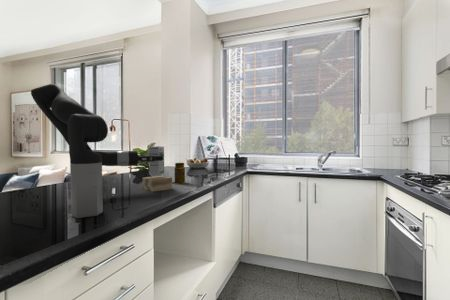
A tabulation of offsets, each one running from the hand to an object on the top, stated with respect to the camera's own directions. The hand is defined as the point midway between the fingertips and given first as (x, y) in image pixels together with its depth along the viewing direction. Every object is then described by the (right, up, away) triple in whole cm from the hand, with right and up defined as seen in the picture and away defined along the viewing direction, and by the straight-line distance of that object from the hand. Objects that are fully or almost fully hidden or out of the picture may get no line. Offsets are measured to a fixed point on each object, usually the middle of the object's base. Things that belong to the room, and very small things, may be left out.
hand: (160, 157), depth 125 cm
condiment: (+6, -16, +16) cm, 24 cm away
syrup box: (-2, -9, -1) cm, 9 cm away
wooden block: (-2, -16, 0) cm, 16 cm away
